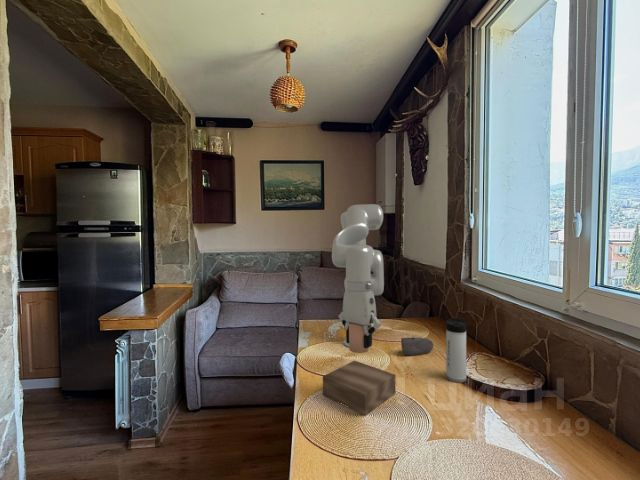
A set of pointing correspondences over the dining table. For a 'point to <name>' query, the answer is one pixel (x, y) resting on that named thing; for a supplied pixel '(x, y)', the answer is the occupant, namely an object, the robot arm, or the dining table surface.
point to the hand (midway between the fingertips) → (358, 344)
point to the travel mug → (456, 350)
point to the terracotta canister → (356, 338)
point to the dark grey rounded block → (416, 346)
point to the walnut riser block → (359, 386)
